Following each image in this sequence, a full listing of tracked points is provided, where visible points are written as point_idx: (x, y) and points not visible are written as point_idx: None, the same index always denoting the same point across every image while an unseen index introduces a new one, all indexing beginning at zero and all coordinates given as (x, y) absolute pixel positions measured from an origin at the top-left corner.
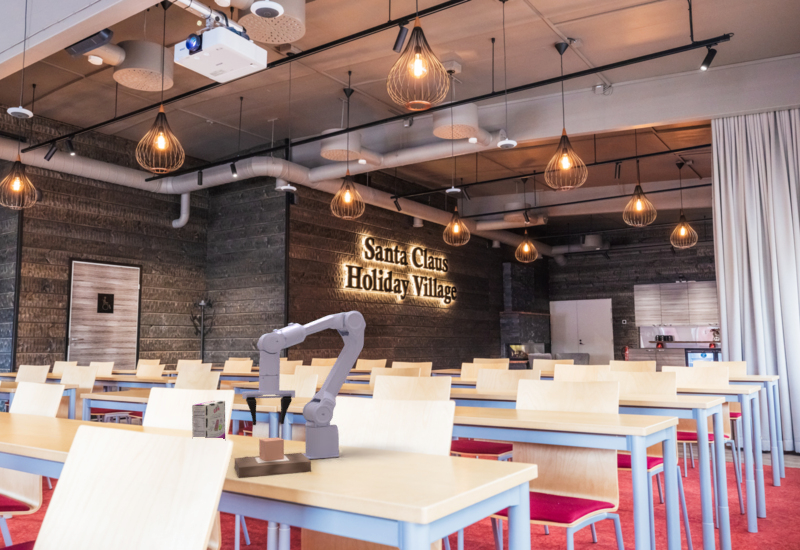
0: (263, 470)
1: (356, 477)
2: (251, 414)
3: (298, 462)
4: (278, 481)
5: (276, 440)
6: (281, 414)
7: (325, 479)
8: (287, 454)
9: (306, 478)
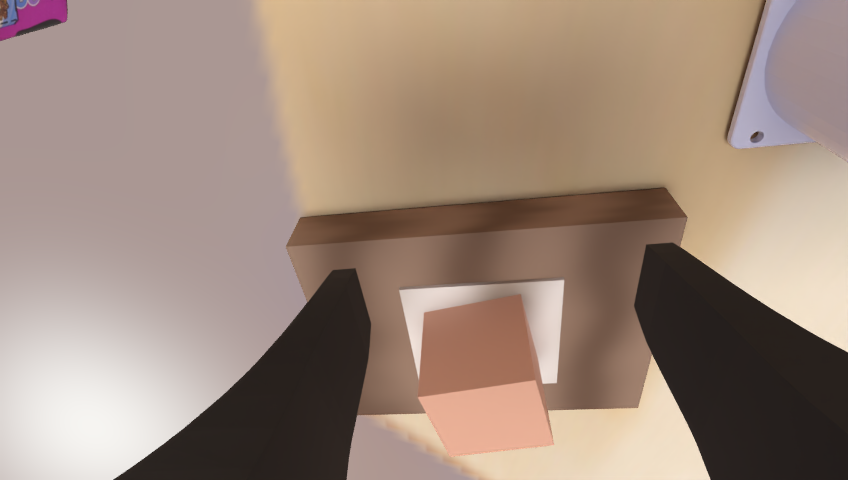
0: None
1: None
2: (279, 351)
3: (583, 408)
4: None
5: (511, 449)
6: (693, 356)
7: (624, 459)
8: (589, 241)
9: (575, 439)
